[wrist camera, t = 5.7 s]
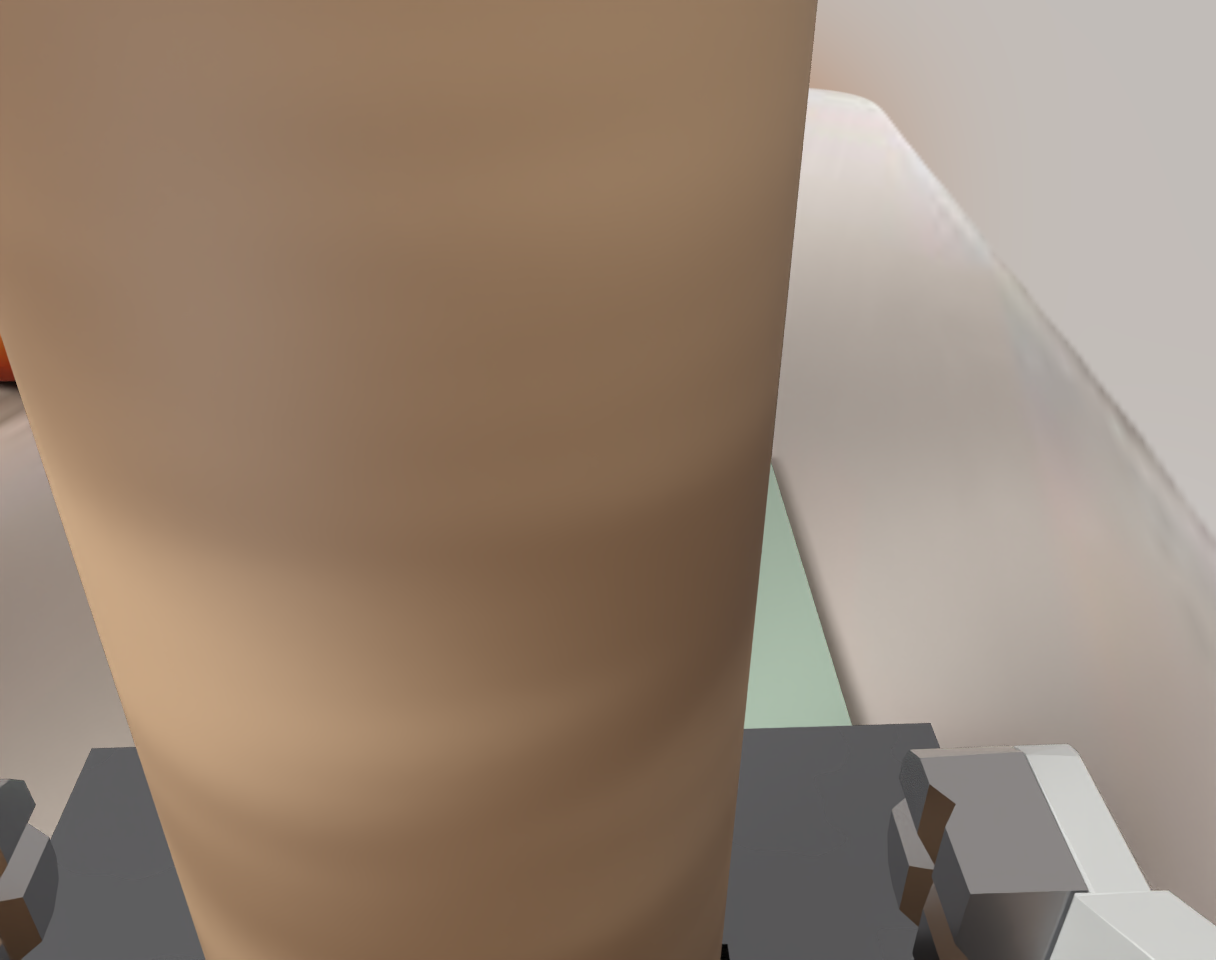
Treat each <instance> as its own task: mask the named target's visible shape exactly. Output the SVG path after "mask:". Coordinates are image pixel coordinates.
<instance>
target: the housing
mask: <svg viewBox="0 0 1216 960" xmlns="http://www.w3.org/2000/svg"><path fill="white" fill-rule="evenodd" d="M937 748H940V747H939V744H938V742H937V739H936V736H935V734H934V731H933V729H932V726H931V723H918V724H885V725H852V726H819V727H786V728H753V729H744V732H743V742H742V751H741V761H740V771H739V781H738V791H737V801H736V811H735V820H734V830H733V840H732V850H731V860H730V870H729V880H728V889H727V899H726V909H725V919H724V929H723V939H722V949H721V958H720V960H914V957H913V954H912V951H913V947H914V943H915V939H916V935H917V931H918V926H917V925H916V924H915V923H914V922H912V921H911V920H910V919H909V918H908V917H907V916H906V915H905V914H904V913H902V912H901V911H900V910H899V907H898V904H897V900H896V897H895V893H894V890H893V886H892V881H891V876H890V870H889V865H888V841H887V833H888V827H889V821H890V816H891V810H892V809H893V808H894V807H895V806H896V805H897V804H899V803H900V802H901V801H902V800H903V799H904V798H905V795H904V792H903V789H902V786H901V783H900V780H899V774H900V769H901V765H902V761H903V758H904V757H905V755H906V754H907V752H908V751H909V750H913V749H937ZM50 841H51V843H52V846H53V848H54V851H55V853H56V857H57V866H58V875H59V882H58V888H57V895H56V901H55V908H54V913H53V915H52V918H51V920H50V923H49V925H48V928H47V930H46V933H45V936H44V938H43V941H42V942H41V943H40V944H38V945H37V946H36V947H35V948H34V949H33V950H31V951H30V952H29V953H28V954H27V955H26V956H24V957H23V958H22V959H21V960H206V959H205V956H204V953H203V950H202V947H201V944H200V941H199V938H198V935H197V932H196V929H195V926H194V923H193V920H192V917H191V914H190V910H189V907H188V904H187V901H186V898H185V895H184V892H183V889H182V886H181V883H180V880H179V877H178V874H177V871H176V868H175V865H174V862H173V859H172V856H171V853H170V850H169V847H168V843H167V840H166V837H165V834H164V831H163V828H162V825H161V822H160V819H159V816H158V813H157V810H156V807H155V804H154V801H153V798H152V795H151V792H150V789H149V786H148V783H147V780H146V776H145V773H144V770H143V767H142V764H141V761H140V758H139V755H138V752H137V749H136V747H124V748H92V749H91V751H90V753H89V756H88V758H87V760H86V762H85V765H84V767H83V769H82V771H81V773H80V776H79V778H78V780H77V782H76V784H75V787H74V789H73V791H72V793H71V795H70V798H69V800H68V802H67V804H66V807H65V809H64V811H63V813H62V815H61V818H60V820H59V822H58V824H57V826H56V829H55V831H54V833H53V835H52V838H51V840H50Z"/></svg>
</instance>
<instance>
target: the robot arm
mask: <svg viewBox="0 0 1216 960" xmlns="http://www.w3.org/2000/svg"><path fill="white" fill-rule="evenodd" d="M899 780H900V783H901V786H902V789H903V792H904V795H905V798H904V799H903V800H902V801H901V802H900V803H899V804H897V805H896V806H895V807H894V808H893V809H892V810H891V816H890V821H889V827H888V833H887V841H888V865H889V870H890V876H891V881H892V886H893V890H894V893H895V897H896V900H897V904H898V907H899V910H900V911H901V912H902V913H904V914H905V915H906V916H907V917H908V918H909V919H910V920H911V921H912V922H914V923H915V924H916V925H917V926H918V931H917V935H916V939H915V943H914V947H913V951H912V954H913V957H914V960H1216V926H1215V925H1214V924H1213V923H1211V922H1210V921H1209V920H1207V919H1206V918H1205V917H1203V916H1202V915H1201V914H1199V913H1198V912H1197V911H1195V910H1194V909H1193V908H1191V907H1190V906H1189V905H1187V904H1186V903H1185V902H1183V901H1182V900H1181V899H1179V898H1178V897H1177V896H1175V895H1174V894H1173V893H1171V892H1170V891H1169V890H1152V889H1151V888H1150V886H1149V884H1148V882H1147V880H1146V878H1145V876H1144V875H1143V873H1142V871H1141V869H1140V867H1139V865H1138V863H1137V861H1136V860H1135V858H1134V856H1133V854H1132V852H1131V850H1130V848H1129V846H1128V845H1127V843H1126V841H1125V839H1124V837H1123V835H1122V833H1121V832H1120V830H1119V828H1118V826H1117V824H1116V822H1115V820H1114V818H1113V817H1112V815H1111V813H1110V811H1109V809H1108V807H1107V805H1106V803H1105V802H1104V800H1103V798H1102V796H1101V794H1100V792H1099V790H1098V788H1097V787H1096V785H1095V783H1094V781H1093V779H1092V777H1091V775H1090V774H1089V772H1088V770H1087V768H1086V766H1085V764H1084V762H1083V760H1082V759H1081V757H1080V755H1079V753H1078V752H1077V751H1076V750H1075V749H1074V748H1072V747H1071V746H1070V745H1069V744H1051V745H1022V746H1014V747H1011V746H1009V745H1006V746H983V747H960V748H937V749H913V750H909V751H908V752H907V754H906V755H905V757H904V758H903V761H902V765H901V769H900V774H899ZM35 806H36V804H35V802H34V800H33V798H32V796H31V794H30V792H29V790H28V788H27V786H26V784H25V782H24V781H23V780H14V779H0V960H21V959H22V958H23V957H24V956H26V955H27V954H28V953H29V952H30V951H31V950H33V949H34V948H35V947H36V946H37V945H38V944H40V943H41V942H42V941H43V938H44V936H45V933H46V930H47V928H48V925H49V923H50V920H51V918H52V915H53V913H54V908H55V901H56V895H57V888H58V882H59V875H58V866H57V857H56V853H55V851H54V848H53V846H52V843H51V841H50V838H49V837H48V836H46V835H45V834H43V833H42V832H40V831H39V830H37V829H36V828H34V827H33V826H31V825H30V824H28V820H29V818H30V816H31V814H32V812H33V810H34V808H35Z"/></svg>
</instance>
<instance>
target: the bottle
mask: <svg viewBox="0 0 1216 960" xmlns="http://www.w3.org/2000/svg"><path fill="white" fill-rule="evenodd" d="M817 1H818V0H0V335H1V338H2V341H3V344H4V347H5V350H6V353H7V356H8V359H9V362H10V365H11V368H12V371H13V374H14V377H15V381H16V384H17V387H18V390H19V393H20V396H21V399H22V402H23V405H24V408H25V411H26V414H27V417H28V420H29V423H30V426H31V429H32V432H33V435H34V438H35V441H36V445H37V448H38V451H39V454H40V457H41V460H42V463H43V466H44V469H45V472H46V475H47V478H48V481H49V484H50V487H51V490H52V493H53V496H54V499H55V502H56V505H57V508H58V512H59V515H60V518H61V521H62V524H63V527H64V530H65V533H66V536H67V539H68V542H69V545H70V548H71V551H72V554H73V557H74V560H75V563H76V566H77V569H78V572H79V575H80V579H81V582H82V585H83V588H84V591H85V594H86V597H87V600H88V603H89V606H90V609H91V612H92V615H93V618H94V621H95V624H96V627H97V630H98V633H99V636H100V639H101V642H102V646H103V649H104V652H105V655H106V658H107V661H108V664H109V667H110V670H111V673H112V676H113V679H114V682H115V685H116V688H117V691H118V694H119V697H120V700H121V703H122V706H123V709H124V713H125V716H126V719H127V722H128V725H129V728H130V731H131V734H132V737H133V740H134V743H135V746H136V749H137V752H138V755H139V758H140V761H141V764H142V767H143V770H144V773H145V776H146V780H147V783H148V786H149V789H150V792H151V795H152V798H153V801H154V804H155V807H156V810H157V813H158V816H159V819H160V822H161V825H162V828H163V831H164V834H165V837H166V840H167V843H168V847H169V850H170V853H171V856H172V859H173V862H174V865H175V868H176V871H177V874H178V877H179V880H180V883H181V886H182V889H183V892H184V895H185V898H186V901H187V904H188V907H189V910H190V914H191V917H192V920H193V923H194V926H195V929H196V932H197V935H198V938H199V941H200V944H201V947H202V950H203V953H204V956H205V959H206V960H720V958H721V949H722V939H723V929H724V919H725V909H726V899H727V889H728V880H729V870H730V860H731V850H732V840H733V830H734V820H735V811H736V801H737V791H738V781H739V771H740V761H741V751H742V742H743V732H744V722H745V712H746V702H747V692H748V682H749V672H750V663H751V653H752V643H753V633H754V623H755V613H756V603H757V594H758V584H759V574H760V564H761V554H762V544H763V534H764V525H765V515H766V505H767V495H768V485H769V475H770V465H771V455H772V446H773V436H774V426H775V416H776V406H777V396H778V386H779V377H780V367H781V357H782V347H783V337H784V327H785V317H786V308H787V298H788V288H789V278H790V268H791V258H792V248H793V239H794V229H795V219H796V209H797V199H798V189H799V179H800V169H801V160H802V150H803V140H804V130H805V120H806V110H807V100H808V91H809V81H810V70H811V61H812V51H813V41H814V31H815V22H816V11H817Z"/></svg>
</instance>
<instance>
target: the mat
mask: <svg viewBox="0 0 1216 960" xmlns="http://www.w3.org/2000/svg"><path fill="white" fill-rule="evenodd" d="M819 726H852V724H851V720H850V717H849V714H848V711H847V707H846V704H845V701H844V698H843V694H842V691H841V688H840V685H839V681H838V678H837V675H836V672H835V668H834V665H833V662H832V659H831V655H830V652H829V649H828V646H827V642H826V639H825V636H824V633H823V629H822V626H821V623H820V620H819V617H818V613H817V610H816V607H815V604H814V600H813V597H812V594H811V591H810V587H809V584H808V581H807V578H806V574H805V571H804V568H803V565H802V561H801V558H800V555H799V552H798V548H797V545H796V542H795V539H794V535H793V532H792V529H791V526H790V522H789V519H788V516H787V513H786V509H785V506H784V503H783V500H782V496H781V493H780V490H779V487H778V483H777V480H776V477H775V474H774V470H773V467H772V464H771V465H770V475H769V485H768V495H767V505H766V515H765V525H764V534H763V544H762V554H761V564H760V574H759V584H758V594H757V603H756V613H755V623H754V633H753V643H752V653H751V663H750V672H749V682H748V692H747V702H746V712H745V722H744V729H753V728H786V727H819Z"/></svg>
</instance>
